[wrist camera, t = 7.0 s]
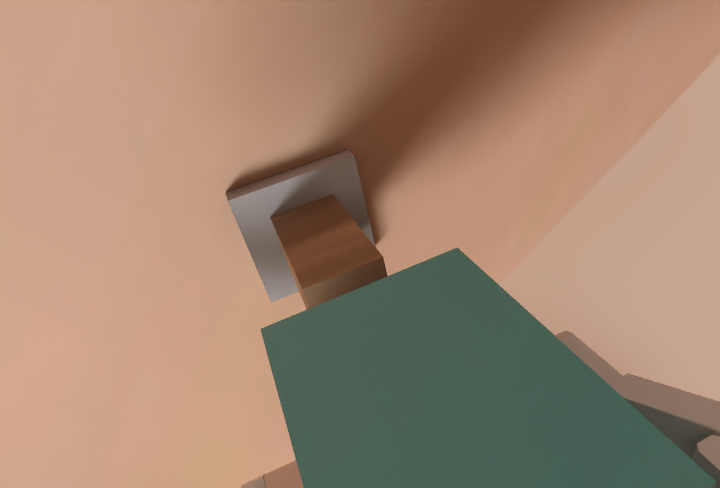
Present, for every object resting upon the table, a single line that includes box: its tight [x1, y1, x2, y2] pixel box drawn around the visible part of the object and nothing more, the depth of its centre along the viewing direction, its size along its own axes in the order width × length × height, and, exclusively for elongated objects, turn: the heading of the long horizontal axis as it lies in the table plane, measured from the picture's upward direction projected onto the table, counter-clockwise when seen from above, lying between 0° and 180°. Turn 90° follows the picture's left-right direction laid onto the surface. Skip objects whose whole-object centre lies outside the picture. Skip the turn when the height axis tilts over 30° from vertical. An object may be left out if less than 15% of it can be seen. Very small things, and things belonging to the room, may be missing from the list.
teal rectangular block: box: [261, 248, 716, 488], centre depth 10 cm, size 5×5×7 cm
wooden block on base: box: [226, 150, 387, 310], centre depth 16 cm, size 5×5×6 cm
